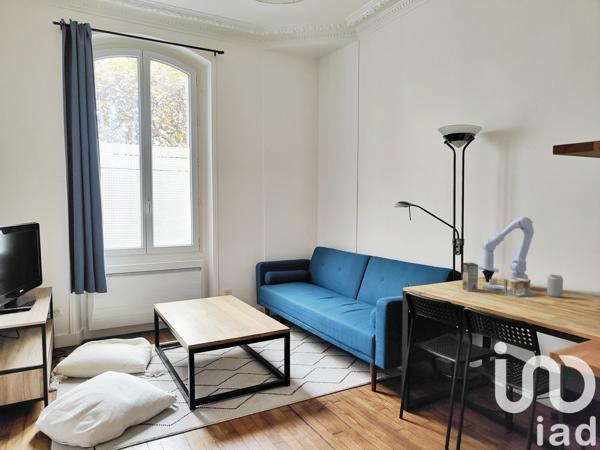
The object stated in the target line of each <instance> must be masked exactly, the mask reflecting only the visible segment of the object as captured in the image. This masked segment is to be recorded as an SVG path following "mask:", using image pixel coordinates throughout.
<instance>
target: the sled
mask: <svg viewBox="0 0 600 450" xmlns="http://www.w3.org/2000/svg"><path fill="white" fill-rule="evenodd" d="M488 284H490V285H494V286H499V287H503V288H504V286H502V285H503V284H501V285H497V284H498V280H497V279H496V278H494V279H492V278H491V279H489V282H488ZM507 288H508V289H511V287H507ZM518 291H521V292H525V289H518Z"/></svg>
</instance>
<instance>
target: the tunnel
mask: <svg viewBox="0 0 600 450" xmlns="http://www.w3.org/2000/svg"><path fill="white" fill-rule="evenodd" d="M508 282H509V283H511V282H513V291H512V293H516V282H522V283H523V289H525V290H528V291H531V279H529V278H528V279H523V278H513V279H511V278H504V279H503V283H504V284H503V285H504V291H507V286H508Z"/></svg>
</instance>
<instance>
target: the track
mask: <svg viewBox="0 0 600 450" xmlns="http://www.w3.org/2000/svg"><path fill="white" fill-rule="evenodd" d="M497 285H502V286H504V284H499V283H497ZM510 286H511V285H507V287H510ZM482 289H484V290H487V291H488V290H489V291H492V292H496V293H501V294H505V295H509V296H513V297H517V298H524V297H533V296H539V293H538V292H534V291H532V290H530V291H528V290H525V292H521V291H517V290H516V293H512V291H513V290H512V289H508V288H507V291H504V288H503V287H499V286H494V285H490V284H489V283H487V284H486V285H485V286H484V285H483V286H482Z"/></svg>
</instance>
